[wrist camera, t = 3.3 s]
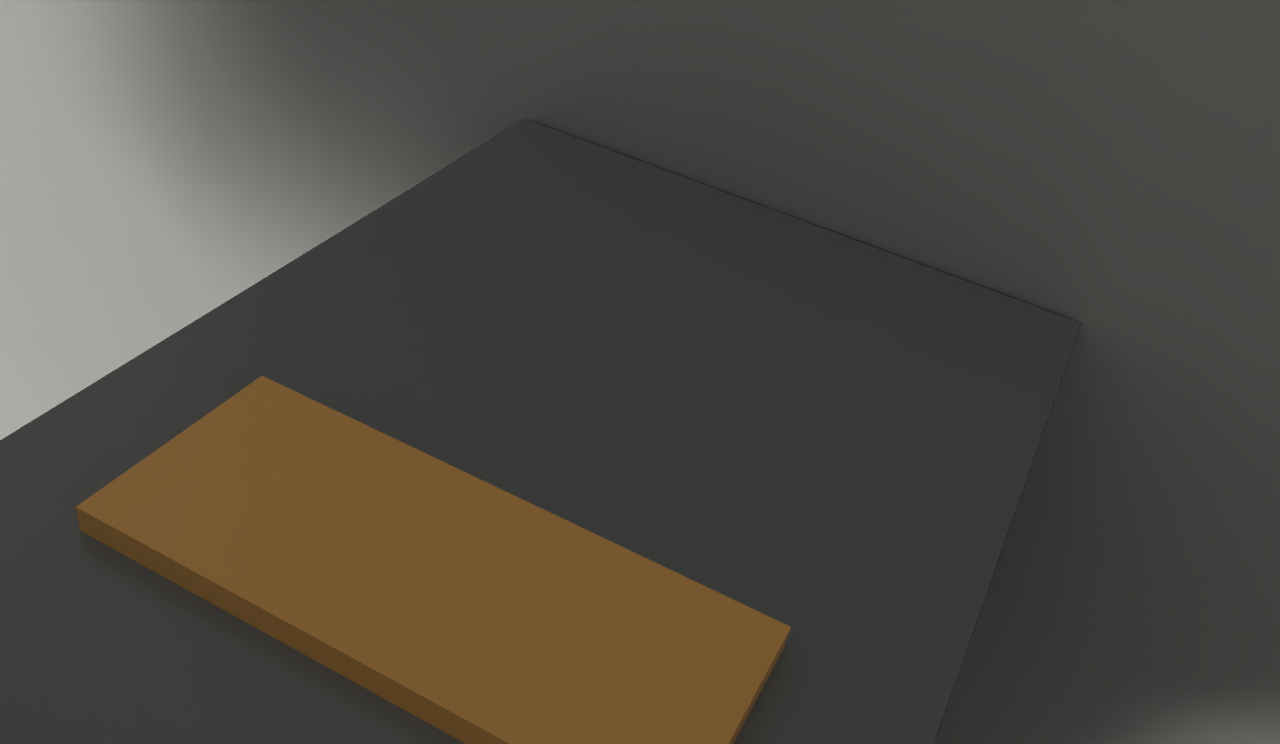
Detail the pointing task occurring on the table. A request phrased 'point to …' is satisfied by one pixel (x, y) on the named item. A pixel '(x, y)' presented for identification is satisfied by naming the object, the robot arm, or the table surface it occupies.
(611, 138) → the table surface
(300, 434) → the block
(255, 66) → the table surface
